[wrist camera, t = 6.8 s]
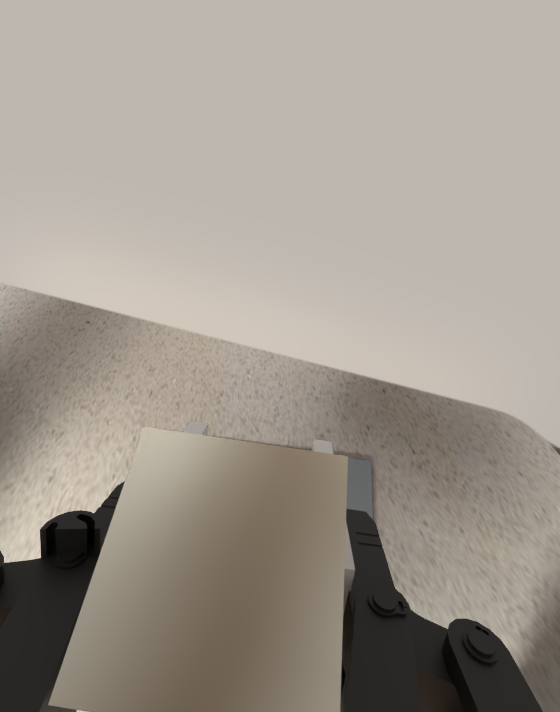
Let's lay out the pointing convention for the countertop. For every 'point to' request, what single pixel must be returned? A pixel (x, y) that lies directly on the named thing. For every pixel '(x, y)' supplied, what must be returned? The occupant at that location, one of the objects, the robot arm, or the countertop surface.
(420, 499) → the countertop surface
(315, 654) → the walnut block
